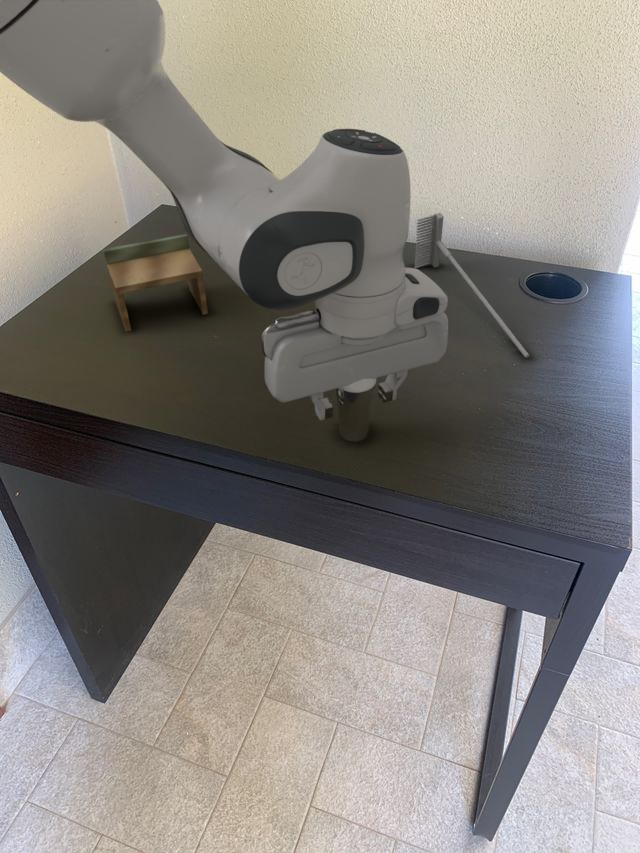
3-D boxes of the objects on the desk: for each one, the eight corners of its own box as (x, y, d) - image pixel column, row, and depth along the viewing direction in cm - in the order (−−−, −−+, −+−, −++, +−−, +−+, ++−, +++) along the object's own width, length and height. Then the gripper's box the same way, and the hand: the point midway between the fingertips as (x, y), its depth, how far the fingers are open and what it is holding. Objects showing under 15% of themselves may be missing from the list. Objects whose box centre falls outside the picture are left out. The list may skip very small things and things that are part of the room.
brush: (499, 388, 93) (510, 339, 86) (414, 268, 110) (417, 218, 102) (524, 379, 94) (536, 330, 87) (435, 261, 110) (440, 212, 103)
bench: (125, 331, 96) (112, 274, 90) (116, 304, 102) (102, 249, 96) (208, 313, 100) (200, 257, 94) (194, 288, 105) (186, 233, 99)
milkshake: (381, 422, 81) (385, 353, 74) (364, 450, 77) (367, 380, 71) (346, 412, 82) (347, 343, 76) (328, 439, 79) (327, 369, 72)
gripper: (271, 339, 63) (279, 449, 72) (462, 294, 69) (447, 401, 78) (250, 307, 68) (260, 413, 77) (431, 267, 73) (420, 370, 82)
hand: (355, 407), depth 77 cm, fingers open, 6 cm apart
